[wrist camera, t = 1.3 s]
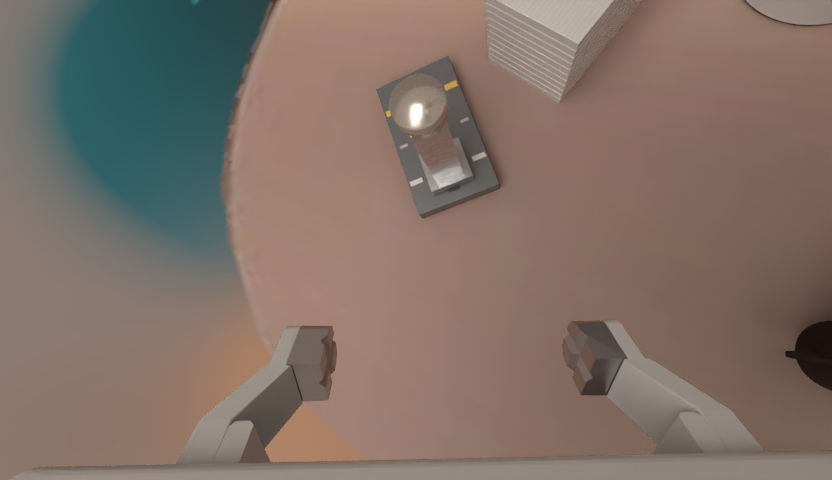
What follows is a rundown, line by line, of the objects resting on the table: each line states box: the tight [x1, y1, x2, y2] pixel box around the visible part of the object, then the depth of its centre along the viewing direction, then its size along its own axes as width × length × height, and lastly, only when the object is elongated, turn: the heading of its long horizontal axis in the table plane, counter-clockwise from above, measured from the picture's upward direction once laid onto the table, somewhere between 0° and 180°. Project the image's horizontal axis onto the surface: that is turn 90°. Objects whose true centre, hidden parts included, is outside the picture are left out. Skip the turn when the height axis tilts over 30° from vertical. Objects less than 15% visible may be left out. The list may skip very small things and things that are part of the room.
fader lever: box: [389, 74, 474, 195], centre depth 34 cm, size 5×5×16 cm
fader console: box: [376, 56, 499, 218], centre depth 44 cm, size 18×10×2 cm, turn 19°
